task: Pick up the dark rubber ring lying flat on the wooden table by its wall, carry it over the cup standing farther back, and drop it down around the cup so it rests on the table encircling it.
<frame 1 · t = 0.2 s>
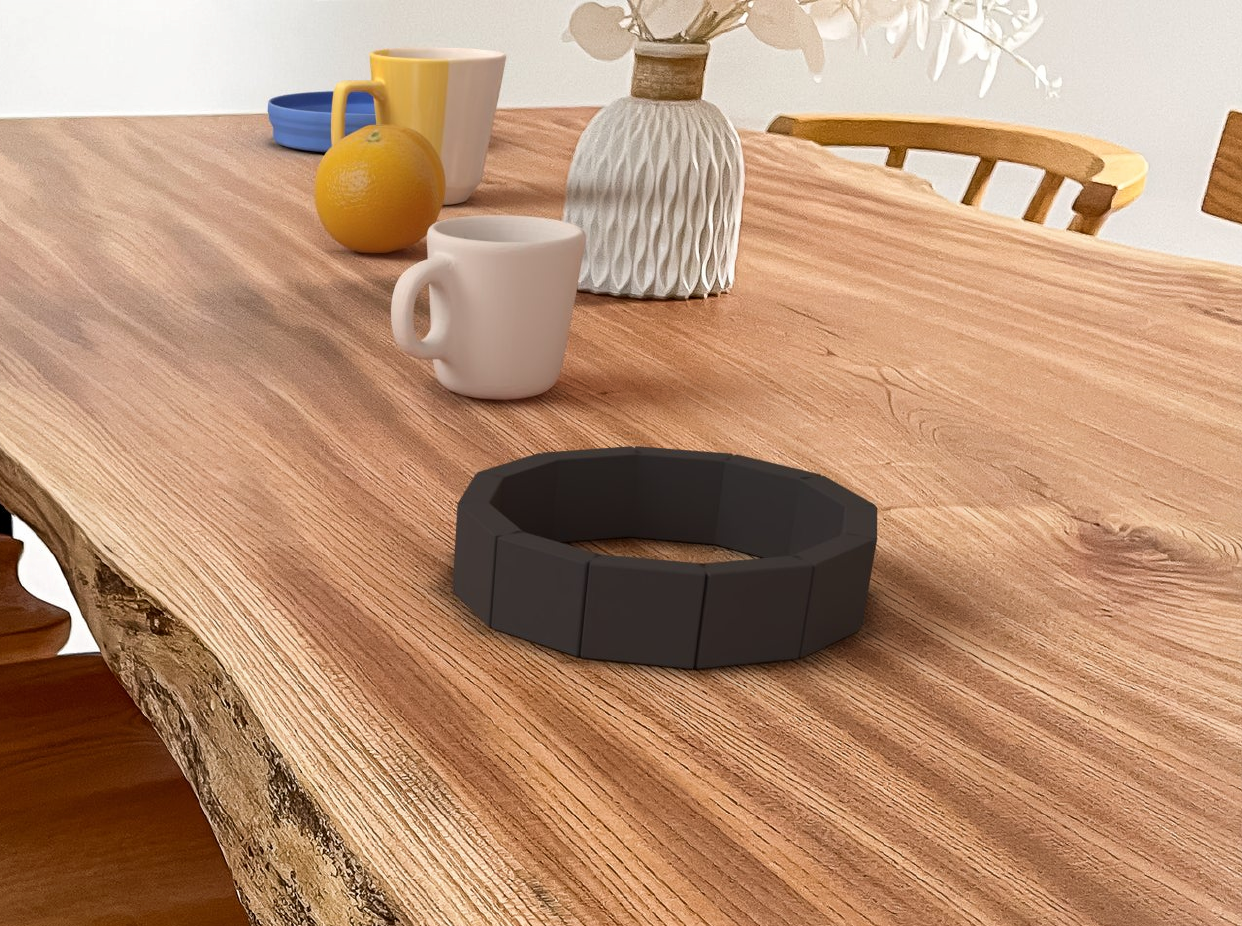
mug: (409, 203, 152), on the table
bowl: (365, 145, 178), on the table
fruit: (377, 254, 134), on the table
ring: (656, 592, 75), on the table
cup: (474, 397, 101), on the table
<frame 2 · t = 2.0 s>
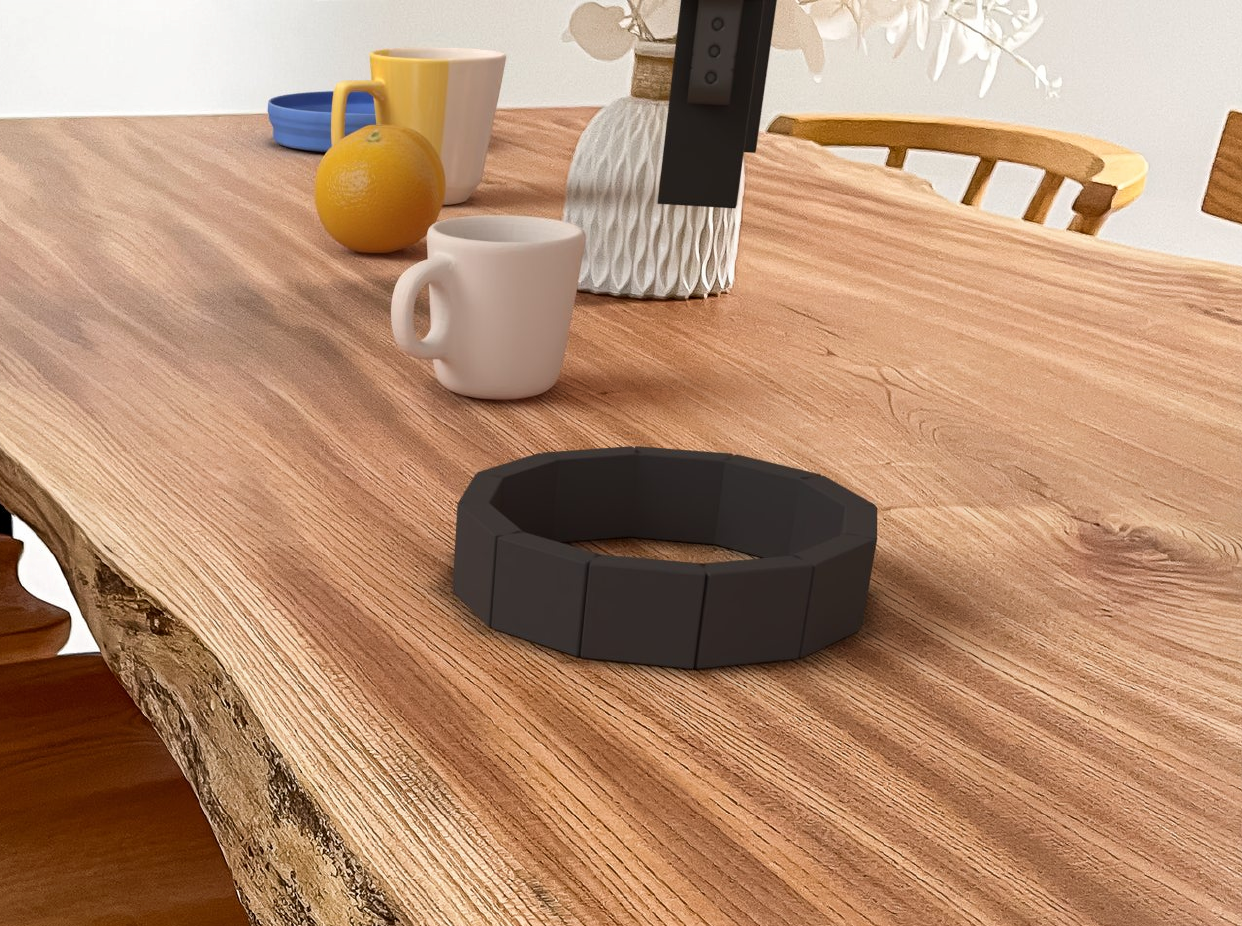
hand: (710, 176, 74), 14 cm above the table, tool pointing down, fingers open, 13 cm apart
nothing on the table moved.
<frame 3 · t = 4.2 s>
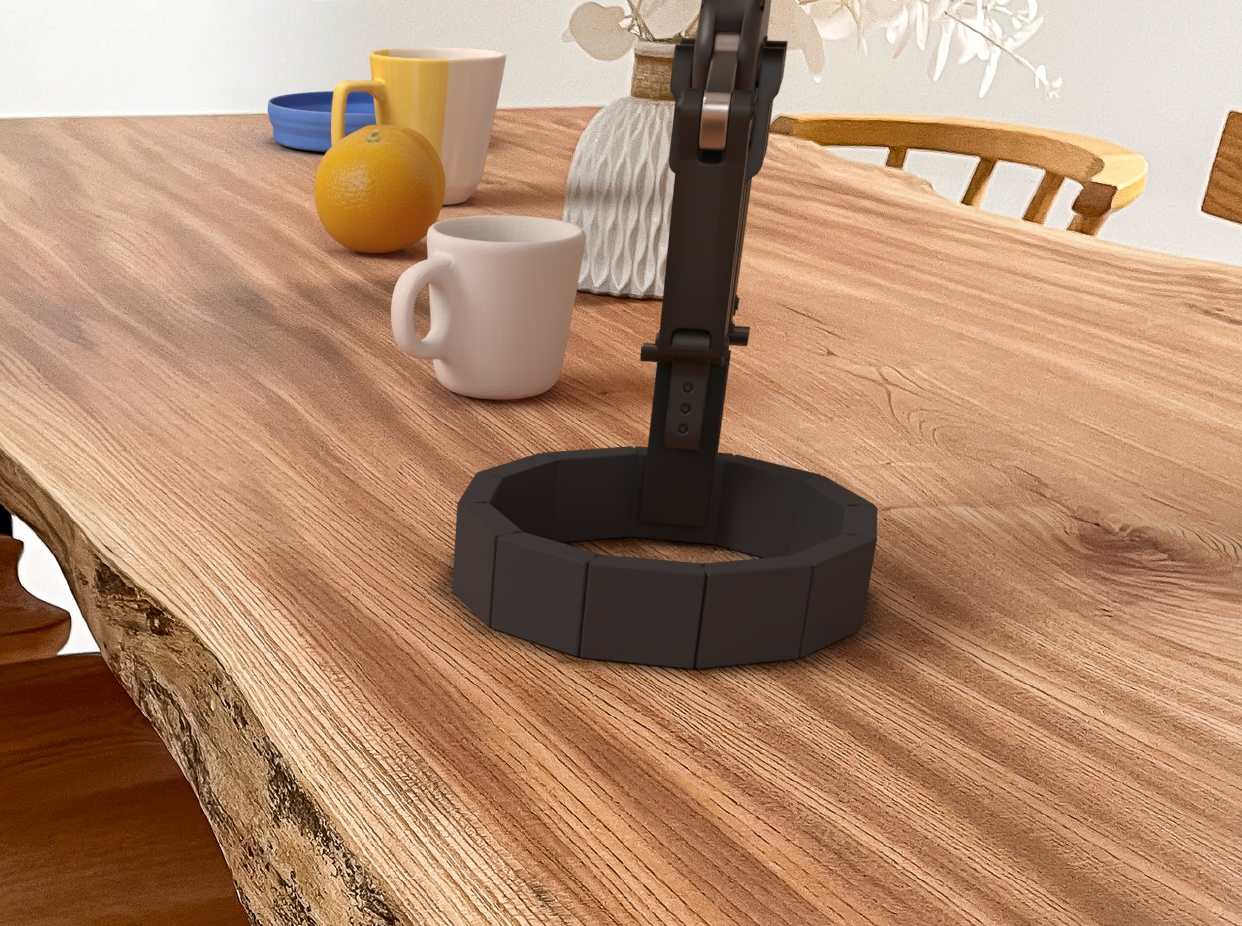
hand: (675, 514, 81), 1 cm above the table, tool pointing down, fingers closed on ring, 1 cm apart
ring: (656, 592, 75), on the table, touching gripper
everything else where it was.
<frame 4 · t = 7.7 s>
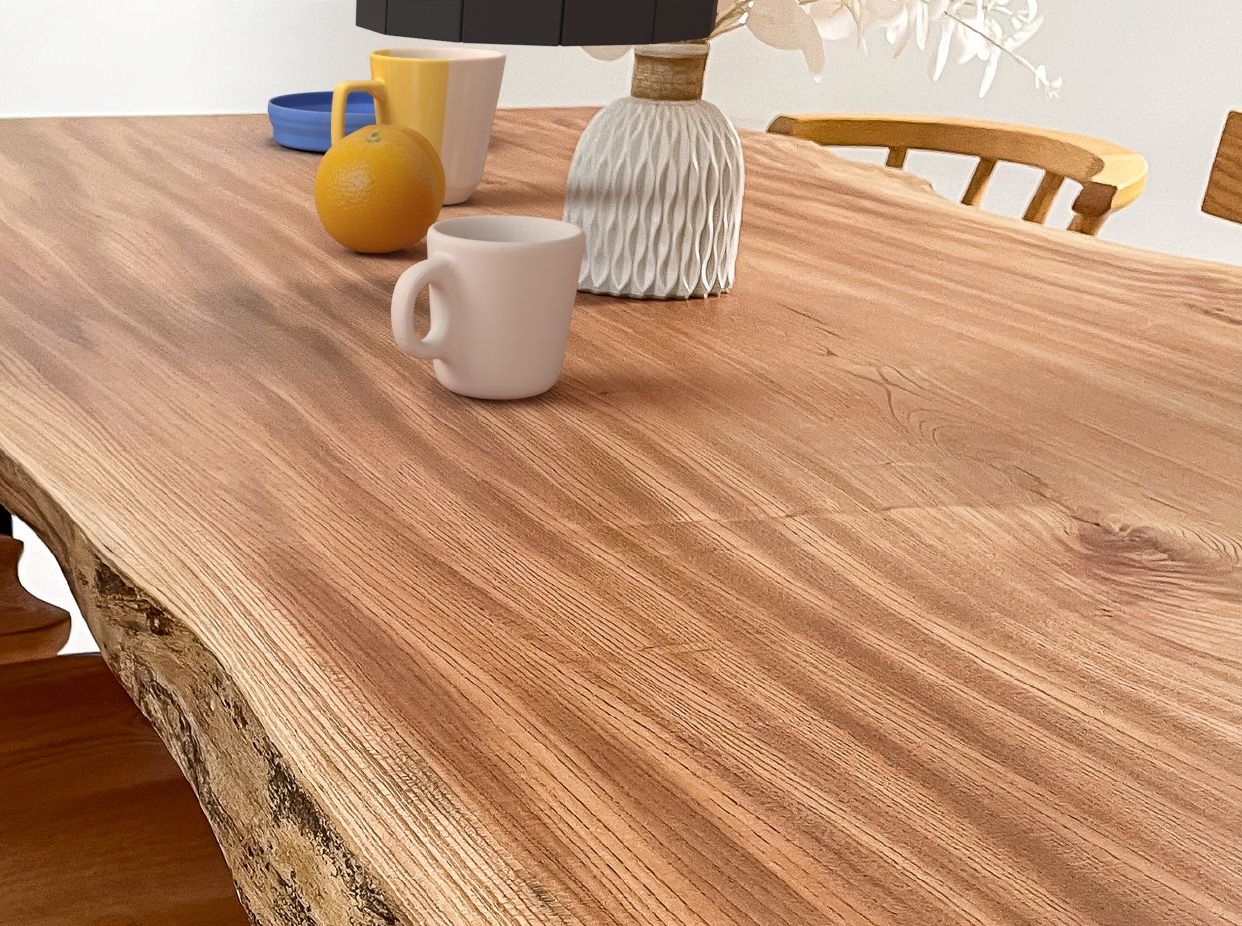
ring: (534, 27, 86), point 18 cm above the table, touching gripper
everything else where it was.
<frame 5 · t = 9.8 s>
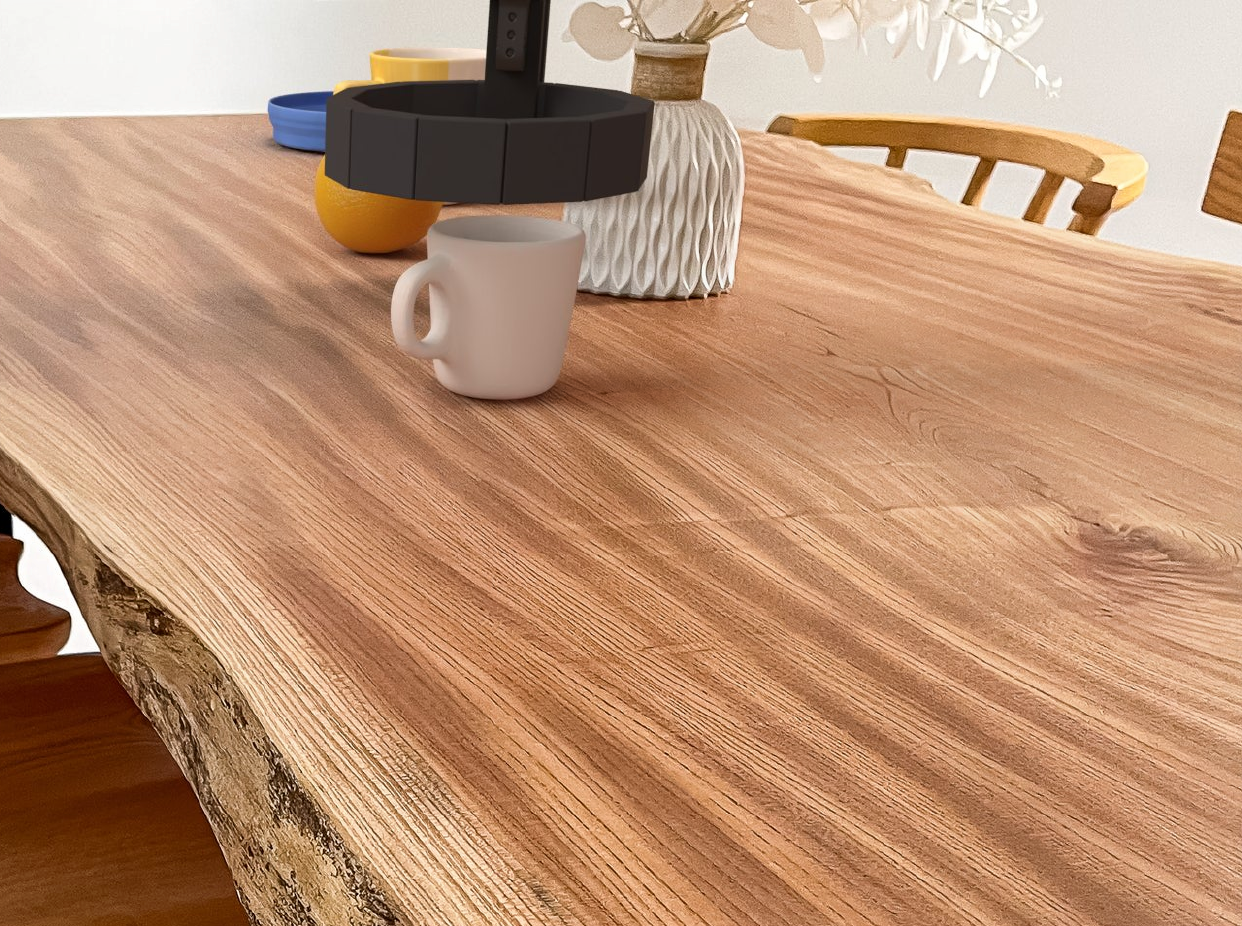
hand: (510, 136, 101), 11 cm above the table, tool pointing down, fingers closed on ring
ring: (485, 176, 96), point 11 cm above the table, touching gripper
everything else where it was.
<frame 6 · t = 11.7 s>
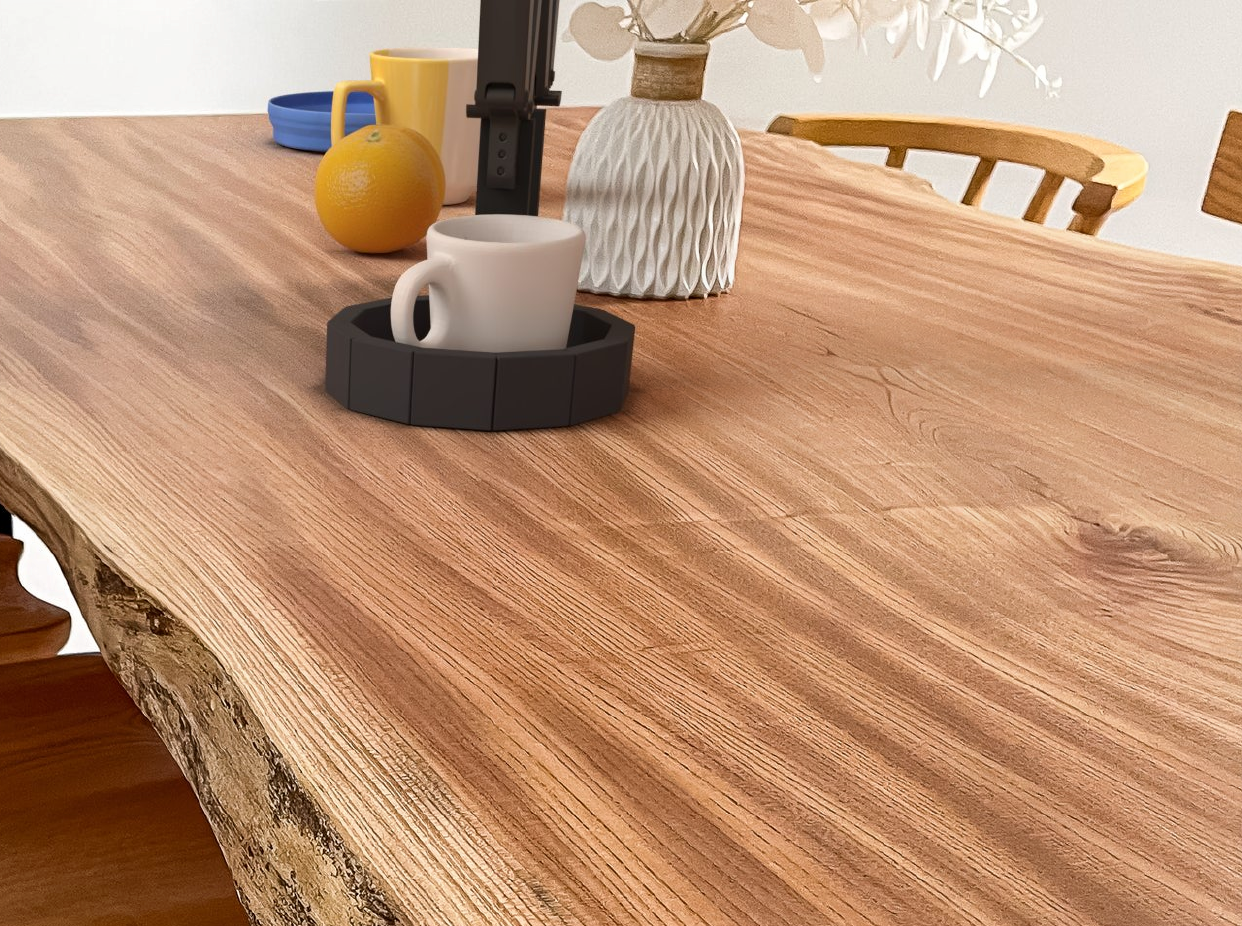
hand: (505, 244, 104), 6 cm above the table, tool pointing down, fingers open, 3 cm apart
ring: (476, 392, 102), on the table
cup: (474, 397, 101), on the table, touching gripper
everything else where it was.
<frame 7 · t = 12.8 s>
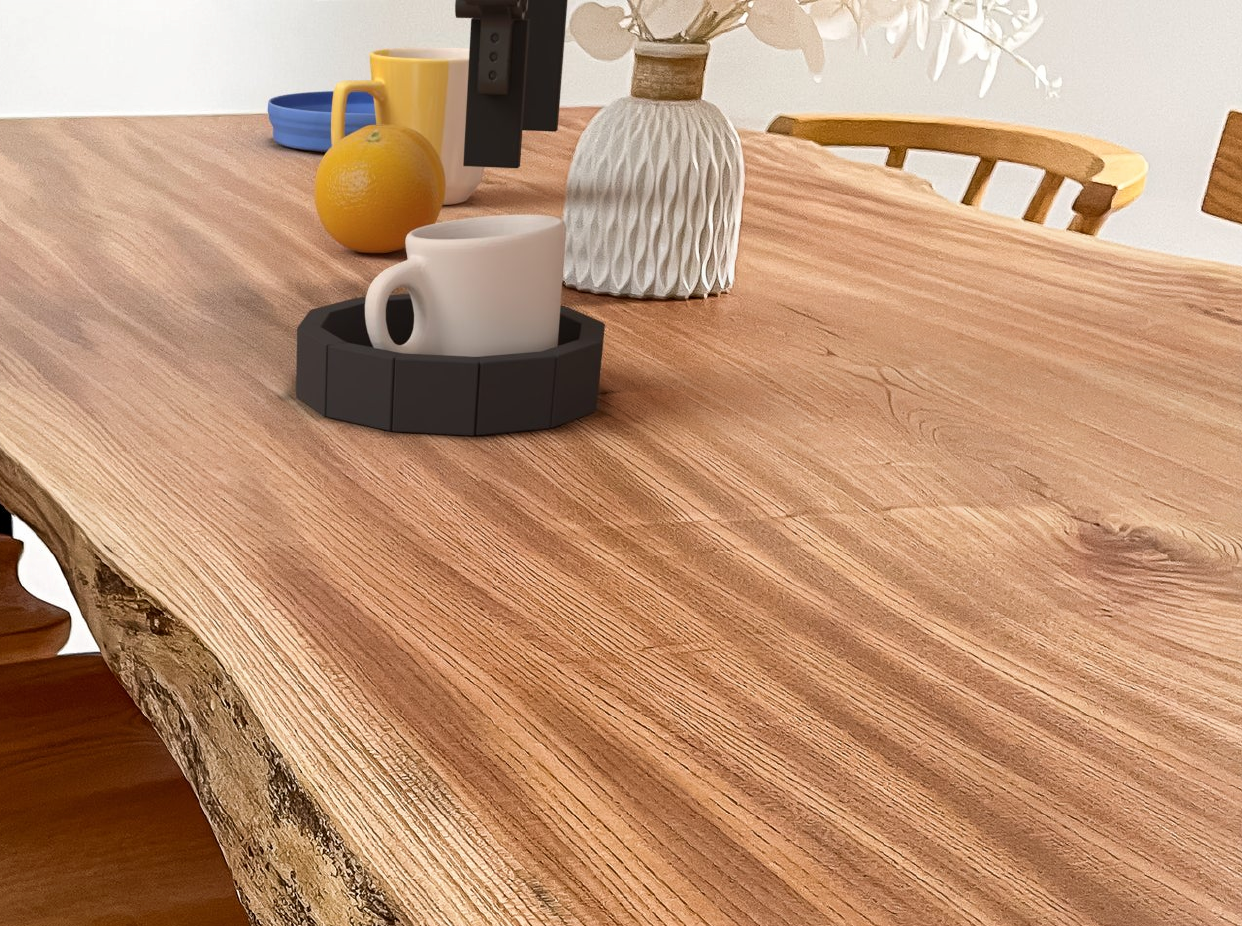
hand: (512, 148, 101), 11 cm above the table, tool pointing down, fingers open, 13 cm apart
ring: (447, 394, 101), on the table
cup: (467, 399, 100), on the table
everything else where it was.
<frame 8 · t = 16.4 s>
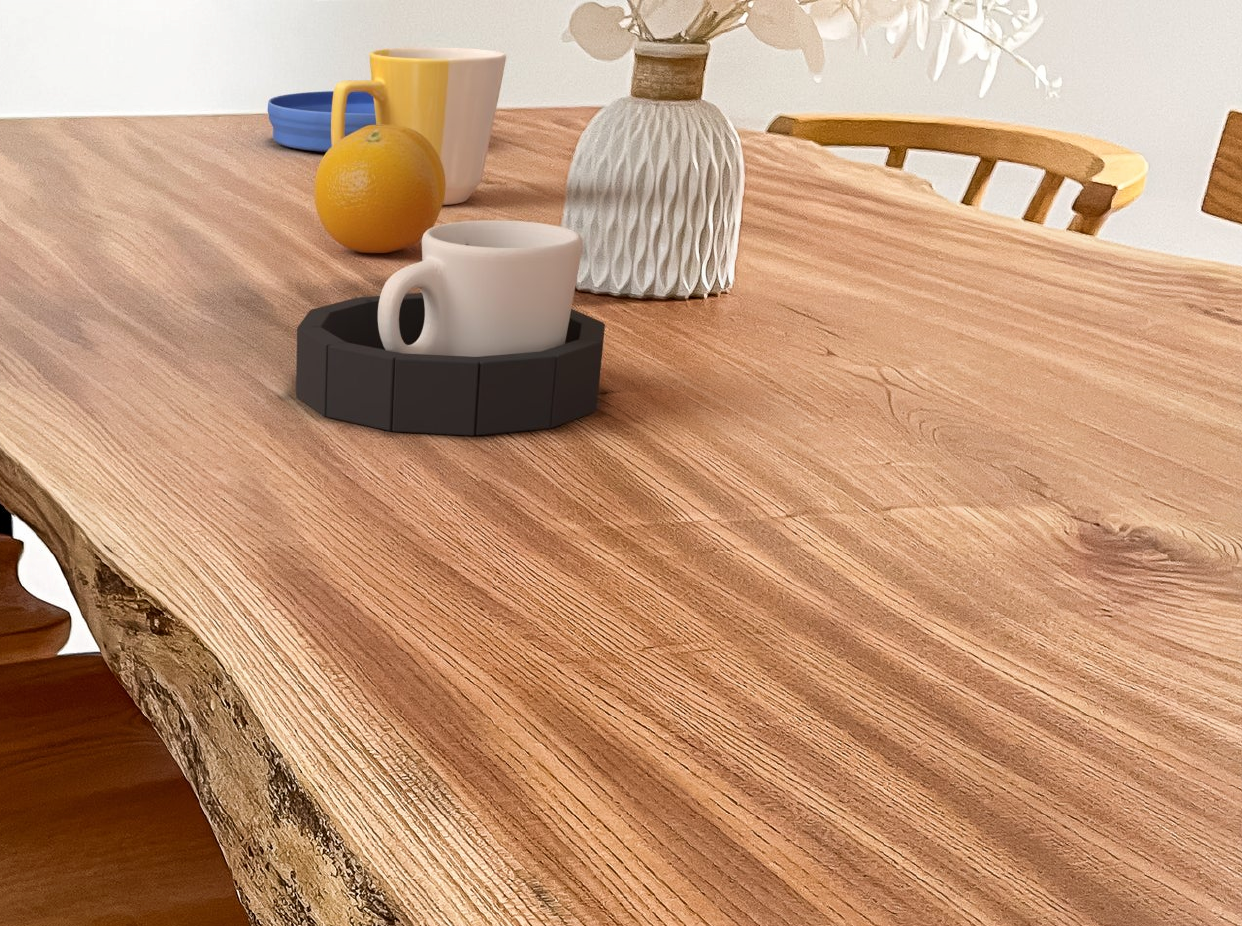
nothing on the table moved.
at the end: ring 1.5 cm from the cup (horizontally); ring on the table; cup tilted 0° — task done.
